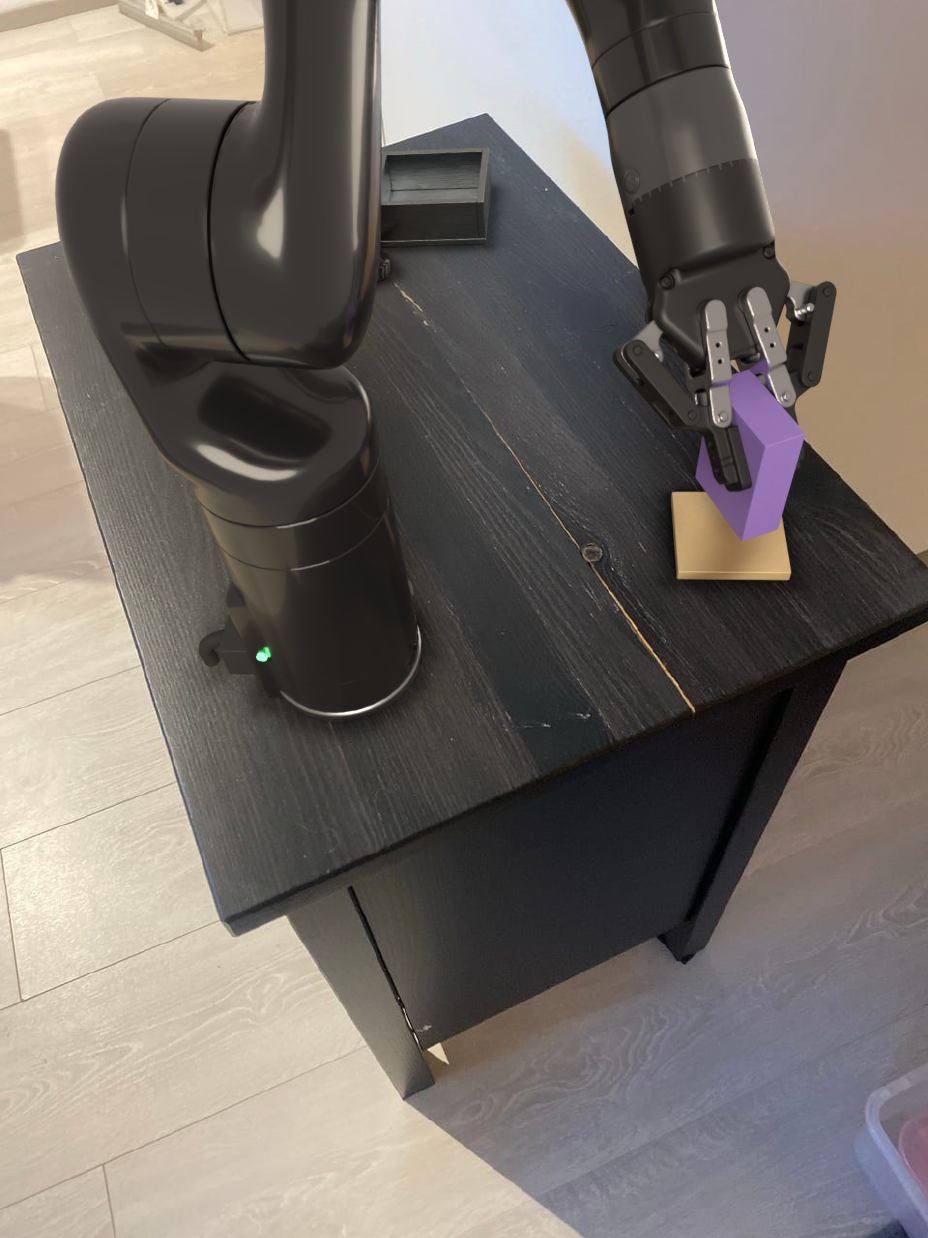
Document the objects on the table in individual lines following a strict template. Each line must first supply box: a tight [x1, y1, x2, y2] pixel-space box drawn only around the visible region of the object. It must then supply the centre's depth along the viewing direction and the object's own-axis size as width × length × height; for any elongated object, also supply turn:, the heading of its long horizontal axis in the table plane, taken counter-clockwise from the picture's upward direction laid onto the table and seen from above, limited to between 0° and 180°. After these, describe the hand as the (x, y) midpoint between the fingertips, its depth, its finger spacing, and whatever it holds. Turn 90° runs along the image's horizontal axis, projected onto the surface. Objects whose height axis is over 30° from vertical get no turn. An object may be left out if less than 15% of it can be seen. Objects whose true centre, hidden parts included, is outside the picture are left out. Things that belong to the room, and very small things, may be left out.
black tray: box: [380, 147, 492, 248], centre depth 86 cm, size 10×9×4 cm
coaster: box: [670, 491, 792, 581], centre depth 62 cm, size 7×7×1 cm
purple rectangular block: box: [694, 370, 806, 541], centre depth 57 cm, size 2×6×8 cm, turn 20°
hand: (762, 480), depth 56 cm, fingers closed on purple rectangular block, 2 cm apart
